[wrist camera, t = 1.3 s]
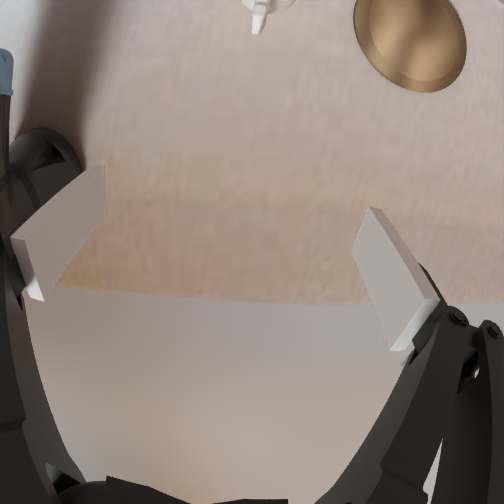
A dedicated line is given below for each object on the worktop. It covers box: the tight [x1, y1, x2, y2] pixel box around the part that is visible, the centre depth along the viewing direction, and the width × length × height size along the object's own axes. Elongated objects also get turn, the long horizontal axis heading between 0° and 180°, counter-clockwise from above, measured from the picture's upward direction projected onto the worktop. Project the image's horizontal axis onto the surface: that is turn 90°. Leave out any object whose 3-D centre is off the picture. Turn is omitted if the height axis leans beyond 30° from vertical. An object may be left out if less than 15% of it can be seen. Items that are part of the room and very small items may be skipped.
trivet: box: [353, 0, 467, 92], centre depth 24 cm, size 16×16×1 cm
